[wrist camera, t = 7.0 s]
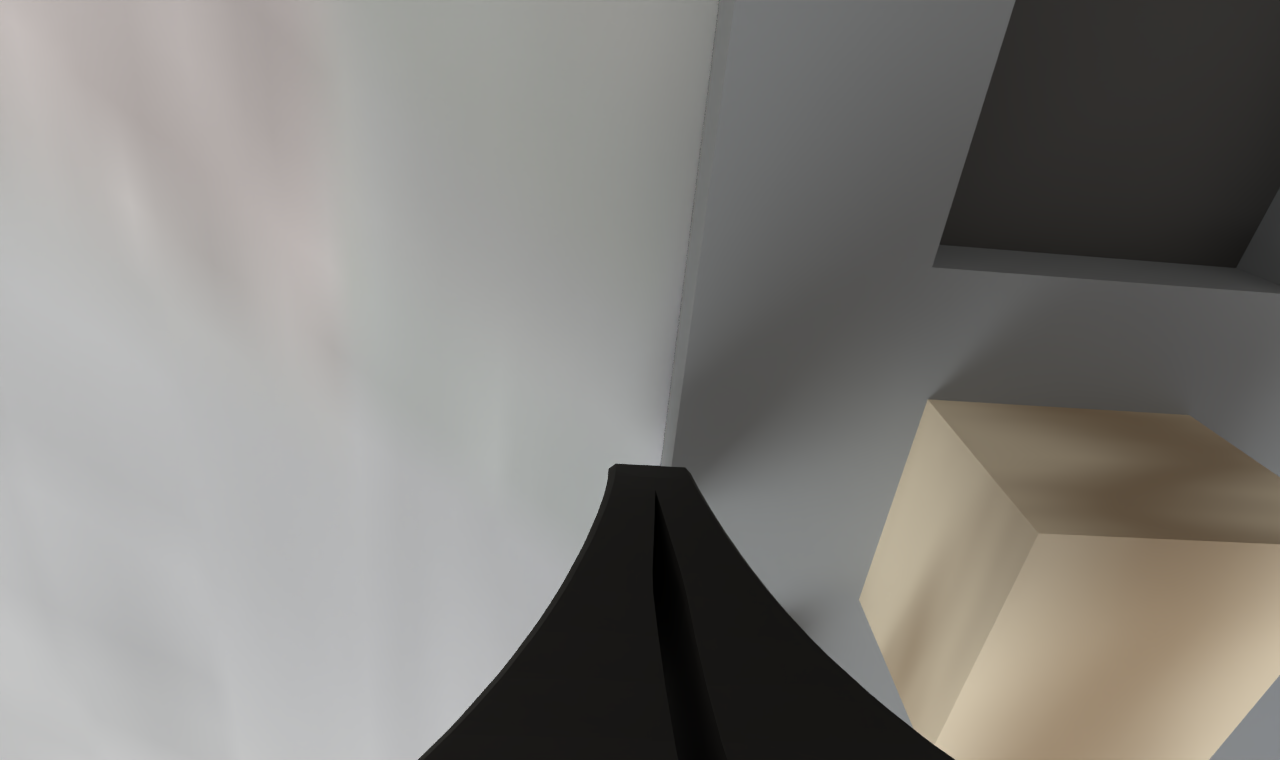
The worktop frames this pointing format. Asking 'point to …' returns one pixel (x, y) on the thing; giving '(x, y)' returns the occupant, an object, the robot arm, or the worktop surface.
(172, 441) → the worktop surface
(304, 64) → the worktop surface
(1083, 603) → the birch block
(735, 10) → the slate board
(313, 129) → the worktop surface
